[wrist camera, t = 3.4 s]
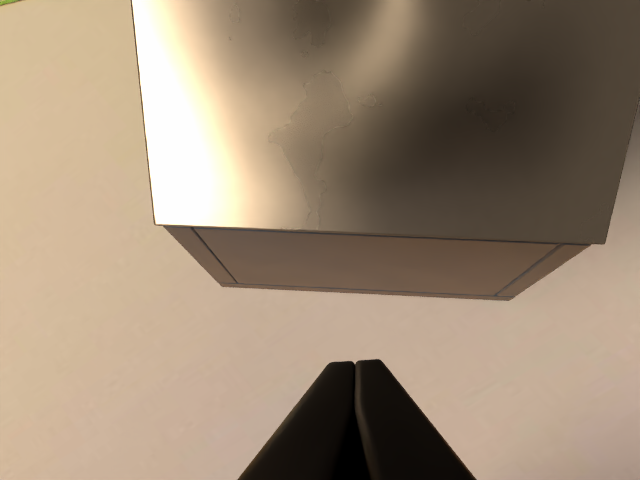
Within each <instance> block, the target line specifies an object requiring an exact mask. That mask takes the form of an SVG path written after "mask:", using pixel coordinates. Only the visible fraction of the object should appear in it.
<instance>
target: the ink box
mask: <svg viewBox="0 0 640 480" xmlns="http://www.w3.org/2000/svg"><path fill="white" fill-rule="evenodd" d="M15 1H19V0H0V5H3V4H7V3H11V2H15Z"/></svg>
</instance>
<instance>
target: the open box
mask: <svg viewBox="0 0 640 480" xmlns="http://www.w3.org/2000/svg"><path fill="white" fill-rule="evenodd" d="M163 227H164V228H165V229H166V230H167V231H168V232H169V233H170V234H171V235H172V236H173V237H174V238H175V239H176V240H177V241H178V242H179V243H180V244H181V245H182V246H183V247H184V248H185V249H186V250H187V251H188V252H189V253H190V254H191V255H192V257H193V258H194V259H195V260H196V261H197V262H198V263H199V264H200V265H201V266H202V267H203V268H204V269H205V270H206V271H207V272H208V273H209V274H210V275H211V276H212V277H213V278H214V279H215V280H216V281H217V282H218V283H219V284H220V285H221V286H222V287H238V288H258V289H279V290H299V291H320V292H340V293H361V294H381V295H402V296H422V297H442V298H463V299H483V300H504V301H509V300H511V299H513V298H514V297H515V296H517V295H518V294H520V293H521V292H523V291H524V290H525V289H527V288H528V287H530V286H531V285H533V284H534V283H536V282H537V281H539V280H540V279H542V278H543V277H545V276H546V275H548V274H549V273H551V272H552V271H554V270H555V269H556V268H558V267H559V266H561V265H562V264H564V263H565V262H567V261H568V260H570V259H571V258H573V257H574V256H576V255H577V254H579V253H580V252H582V251H583V250H584V249H586V248H587V247H589V246H590V245H591V244H577V243H554V242H531V241H508V240H484V239H461V238H438V237H414V236H391V235H368V234H345V233H321V232H298V231H275V230H251V229H228V228H205V227H182V226H163Z"/></svg>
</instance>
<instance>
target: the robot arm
mask: <svg viewBox="0 0 640 480" xmlns="http://www.w3.org/2000/svg"><path fill="white" fill-rule="evenodd" d="M238 480H476V478H475V477H474V476H473V475H472V473H471V472H470V471H469V470H468V468H467V467H466V466H465V465H464V463H463V462H462V461H461V460H460V458H459V457H458V456H457V455H456V453H455V452H454V451H453V450H452V448H451V447H450V446H449V445H448V443H447V442H446V441H445V440H444V438H443V437H442V436H441V435H440V433H439V432H438V431H437V430H436V428H435V427H434V426H433V424H432V423H431V422H430V421H429V419H428V418H427V417H426V416H425V414H424V413H423V412H422V411H421V409H420V408H419V407H418V406H417V404H416V403H415V402H414V401H413V399H412V398H411V397H410V396H409V394H408V393H407V392H406V391H405V389H404V388H403V387H402V386H401V384H400V383H399V382H398V381H397V379H396V378H395V377H394V376H393V374H392V373H391V372H390V371H389V369H388V368H387V367H386V366H385V364H384V363H383V362H382V361H381V360H379V359H375V360H361V361H358V362H356V364H354V362H352V361H345V362H331V363H329V364H328V365H327V366H326V367H325V369H324V370H323V371H322V373H321V374H320V375H319V376H318V378H317V379H316V380H315V381H314V383H313V384H312V385H311V387H310V388H309V389H308V390H307V392H306V393H305V394H304V395H303V397H302V398H301V399H300V401H299V402H298V403H297V404H296V406H295V407H294V408H293V409H292V411H291V412H290V413H289V415H288V416H287V417H286V418H285V420H284V421H283V422H282V424H281V425H280V426H279V427H278V429H277V430H276V431H275V432H274V434H273V435H272V436H271V438H270V439H269V440H268V441H267V443H266V444H265V445H264V446H263V448H262V449H261V450H260V452H259V453H258V454H257V455H256V457H255V458H254V459H253V460H252V462H251V463H250V464H249V466H248V467H247V468H246V469H245V471H244V472H243V473H242V475H241V476H240V477H239V478H238Z"/></svg>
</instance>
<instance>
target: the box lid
mask: <svg viewBox="0 0 640 480" xmlns="http://www.w3.org/2000/svg"><path fill="white" fill-rule="evenodd" d="M131 8H132V17H133V27H134V36H135V46H136V55H137V65H138V75H139V84H140V94H141V103H142V113H143V122H144V132H145V141H146V151H147V161H148V170H149V180H150V189H151V199H152V208H153V218H154V224H155V225H158V226H182V227H205V228H228V229H251V230H275V231H298V232H321V233H345V234H368V235H391V236H414V237H438V238H461V239H484V240H508V241H531V242H554V243H577V244H601V245H602V244H605V241H606V237H607V233H608V229H609V225H610V220H611V216H612V212H613V208H614V203H615V199H616V195H617V191H618V186H619V182H620V178H621V174H622V170H623V165H624V161H625V157H626V153H627V148H628V144H629V140H630V136H631V131H632V127H633V123H634V119H635V115H636V110H637V106H638V102H639V98H640V0H131Z"/></svg>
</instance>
